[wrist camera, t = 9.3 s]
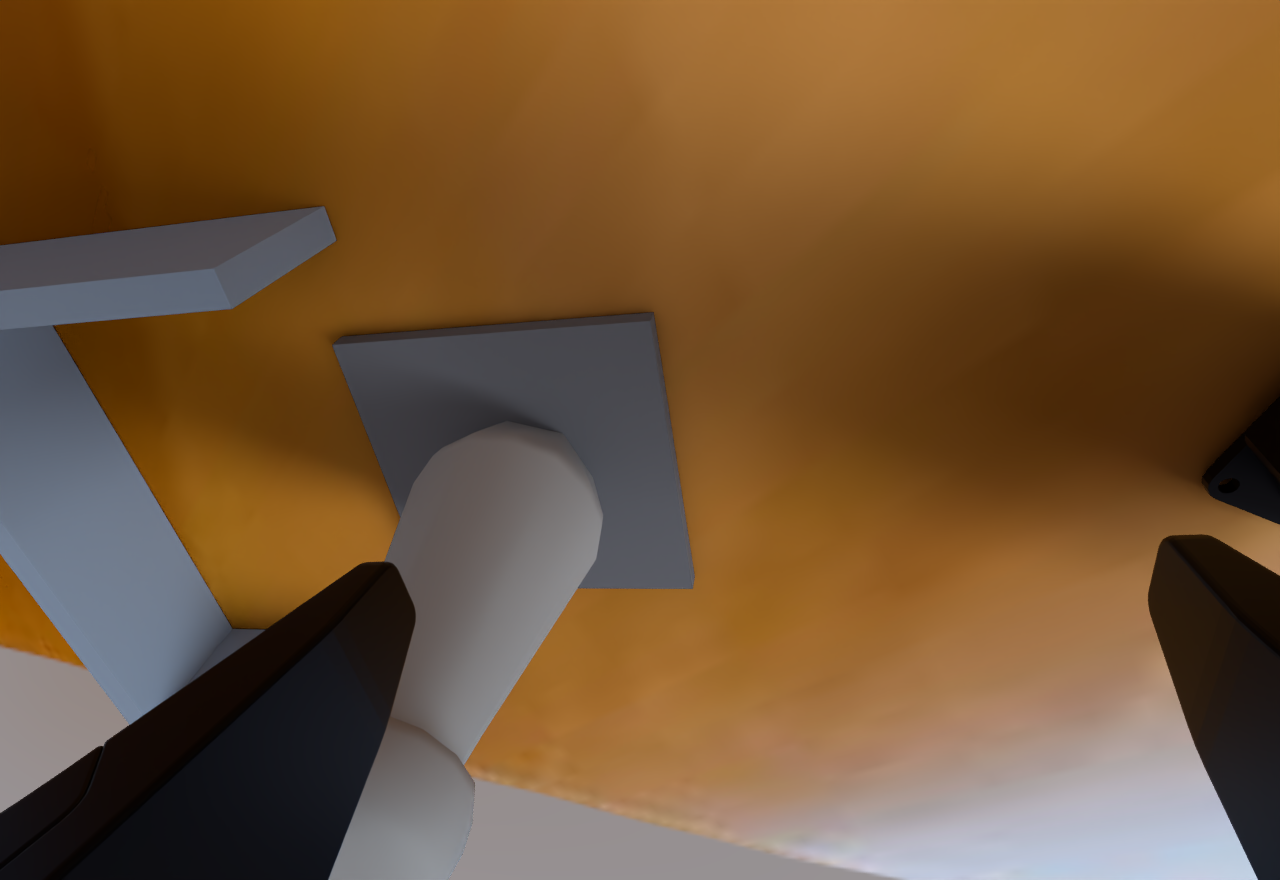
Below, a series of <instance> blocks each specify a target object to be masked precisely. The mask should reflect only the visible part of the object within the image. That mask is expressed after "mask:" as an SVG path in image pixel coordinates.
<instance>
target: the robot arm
mask: <svg viewBox="0 0 1280 880" xmlns="http://www.w3.org/2000/svg"><path fill="white" fill-rule="evenodd" d="M1229 478H1232V479H1231V481H1229V482H1228V483H1226V484H1222V485H1219V484H1220V482H1222V481H1223V480H1225V479H1229ZM1202 484H1203V486H1204V488H1205V489H1206V490H1207V492H1208V493H1209V494H1210V496H1212V497H1213V498H1215V499H1217V500H1219V501H1222V502H1224V503H1227V504H1229V505H1232V506H1234V507H1237V508H1239V509H1242V510H1245V511H1247V512H1250V513H1252V514H1255V515H1257V516H1260V517H1262V518H1265V519H1267V520H1270V521H1272V522H1275V523H1277V524H1280V397H1279V398H1278V399H1277V400H1276V401H1275V402H1274V403H1273V404H1272V405H1271V406H1270V407H1269V408H1268V409H1267V410H1266V411H1265V412H1264V413H1263V414H1262V415H1261V416H1260V417H1259V418H1258V419H1257V420H1256V421H1255V422H1254V423H1253V424H1252V425H1251V426H1250V427H1249V428H1248V429H1247V430H1246V431H1245V432H1244V433H1243V434H1242V435H1241V436H1240V437H1239V438H1238V439H1237V440H1236V441H1235V442H1234V443H1233V444H1232V445H1231V446H1230V447H1229V448H1228V449H1227V450H1226V451H1225V452H1224V453H1223V454H1222V455H1221V456H1220V457H1219V458H1218V459H1217V460H1216V461H1215V462H1214V463H1213V464H1212V465H1211V466H1210V467H1209V468H1208V469H1207V471H1206V472H1205V473H1204V475H1203V476H1202ZM1148 605H1149V611H1150V615H1151V618H1152V621H1153V624H1154V627H1155V630H1156V633H1157V636H1158V639H1159V642H1160V645H1161V648H1162V651H1163V654H1164V657H1165V660H1166V663H1167V666H1168V669H1169V672H1170V675H1171V678H1172V681H1173V683H1174V686H1175V689H1176V692H1177V695H1178V698H1179V701H1180V704H1181V707H1182V710H1183V713H1184V716H1185V719H1186V722H1187V725H1188V728H1189V730H1190V733H1191V736H1192V739H1193V741H1194V744H1195V747H1196V749H1197V751H1198V753H1199V756H1200V758H1201V760H1202V762H1203V765H1204V767H1205V769H1206V771H1207V773H1208V775H1209V778H1210V780H1211V782H1212V784H1213V786H1214V788H1215V790H1216V792H1217V794H1218V797H1219V799H1220V801H1221V803H1222V805H1223V807H1224V809H1225V811H1226V813H1227V815H1228V818H1229V820H1230V822H1231V824H1232V826H1233V828H1234V830H1235V832H1236V834H1237V836H1238V839H1239V841H1240V843H1241V845H1242V847H1243V849H1244V851H1245V853H1246V855H1247V858H1248V860H1249V862H1250V864H1251V866H1252V868H1253V870H1254V872H1255V874H1256V876H1257V879H1258V880H1280V576H1279V575H1277V574H1276V573H1274V572H1272V571H1271V570H1269V569H1267V568H1266V567H1264V566H1262V565H1260V564H1259V563H1257V562H1255V561H1254V560H1252V559H1250V558H1249V557H1247V556H1245V555H1243V554H1242V553H1240V552H1238V551H1237V550H1235V549H1233V548H1232V547H1230V546H1228V545H1226V544H1225V543H1223V542H1221V541H1220V540H1218V539H1216V538H1214V537H1212V536H1209V535H1173V536H1168V537H1166V538H1164V539H1163V540H1162V542H1161V543H1160V546H1159V548H1158V553H1157V557H1156V561H1155V566H1154V570H1153V574H1152V579H1151V583H1150V587H1149V592H1148ZM415 623H416V611H415V606H414V603H413V601H412V599H411V597H410V594H409V592H408V590H407V588H406V585H405V583H404V581H403V579H402V577H401V574H400V572H399V570H398V568H397V567H396V566H395V565H394V564H393V563H391V562H366V563H362V564H360V565H358V566H356V567H355V568H353V569H352V570H351V571H349V572H348V573H346V574H345V575H343V576H342V577H341V578H339V579H338V580H336V581H335V582H333V583H332V584H331V585H329V586H328V587H326V588H325V589H323V590H322V591H321V592H319V593H318V594H316V595H315V596H313V597H312V598H311V599H309V600H308V601H306V602H305V603H303V604H302V605H300V606H299V607H298V608H296V609H295V610H293V611H292V612H290V613H289V614H288V615H286V616H285V617H283V618H282V619H280V620H279V621H278V622H276V623H275V624H273V625H272V626H270V627H269V628H268V629H266V630H265V631H263V632H262V633H260V634H259V635H258V636H256V637H255V638H253V639H252V640H250V641H249V642H247V643H246V644H245V645H243V646H242V647H240V648H239V649H237V650H236V651H235V652H233V653H232V654H230V655H229V656H227V657H226V658H225V659H223V660H222V661H220V662H219V663H217V664H216V665H215V666H213V667H212V668H210V669H209V670H207V671H206V672H205V673H203V674H202V675H200V676H199V677H197V678H196V679H194V680H193V681H192V682H190V683H189V684H187V685H186V686H184V687H183V688H182V689H180V690H179V691H177V692H176V693H174V694H173V695H172V696H170V697H169V698H167V699H166V700H164V701H163V702H162V703H160V704H159V705H157V706H156V707H154V708H153V709H152V710H150V711H149V712H147V713H146V714H144V715H143V716H141V717H140V718H139V719H137V720H136V721H134V722H133V723H131V724H130V725H129V726H127V727H126V728H125V729H123V730H121V731H120V732H119V733H117V734H116V735H114V736H113V737H111V738H110V739H109V740H107V741H106V742H105V744H104V746H99V747H97V748H95V749H94V750H92V751H91V752H90V753H88V754H87V755H86V756H84V757H83V758H81V759H80V760H78V761H77V762H75V763H74V764H73V765H71V766H70V767H68V768H67V769H66V770H64V771H62V772H61V773H60V774H58V775H57V776H55V777H54V778H52V779H51V780H49V781H48V782H47V783H45V784H43V785H42V786H40V787H39V788H37V789H36V790H34V791H33V792H32V793H30V794H29V795H27V796H26V797H24V798H23V799H21V800H20V801H18V802H17V803H15V804H14V805H12V806H11V807H9V808H7V809H6V810H4V811H3V812H1V813H0V880H329V877H330V874H331V872H332V869H333V867H334V864H335V861H336V859H337V856H338V854H339V851H340V849H341V846H342V843H343V841H344V838H345V836H346V833H347V830H348V828H349V825H350V823H351V820H352V818H353V815H354V812H355V810H356V807H357V805H358V802H359V799H360V797H361V794H362V792H363V789H364V787H365V784H366V781H367V779H368V776H369V774H370V771H371V768H372V766H373V763H374V761H375V758H376V756H377V753H378V750H379V748H380V745H381V742H382V739H383V737H384V734H385V731H386V728H387V725H388V721H389V718H390V715H391V712H392V708H393V704H394V701H395V697H396V693H397V690H398V686H399V682H400V679H401V675H402V671H403V668H404V664H405V660H406V657H407V653H408V649H409V646H410V642H411V638H412V635H413V631H414V627H415Z"/></svg>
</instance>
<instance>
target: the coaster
mask: <svg viewBox="0 0 1280 880" xmlns="http://www.w3.org/2000/svg"><path fill="white" fill-rule="evenodd" d="M332 346H333V349H334V351H335V354H336V356H337V359H338V361H339V364H340V366H341V369H342V371H343V374H344V376H345V379H346V382H347V384H348V387H349V389H350V392H351V394H352V397H353V399H354V402H355V404H356V407H357V409H358V412H359V414H360V417H361V419H362V422H363V424H364V427H365V429H366V432H367V435H368V437H369V440H370V442H371V445H372V447H373V450H374V452H375V455H376V457H377V460H378V462H379V465H380V467H381V470H382V472H383V475H384V477H385V480H386V483H387V485H388V488H389V490H390V493H391V495H392V498H393V500H394V503H395V505H396V508H397V510H398V513H399V515H400V518H401V515H402V513H403V510H404V507H405V505H406V502H407V499H408V497H409V494H410V491H411V488H412V486H413V483H414V481H415V480H416V479H417V477H418V476H419V474H420V473H421V472H422V470H423V469H424V467H425V466H426V465H427V463H428V462H429V460H430V459H431V458H432V456H433V455H434V454H435V453H437V452H438V451H439V450H440V449H441V448H443V447H445V446H447V445H449V444H451V443H453V442H455V441H457V440H459V439H462V438H464V437H466V436H468V435H470V434H472V433H474V432H477V431H480V430H482V429H485V428H488V427H491V426H494V425H496V424H499V423H502V422H505V421H510V422H514V423H518V424H523V425H527V426H532V427H536V428H541V429H545V430H549V431H554V432H558V433H563V434H564V436H565V437H566V439H567V440H568V442H569V443H570V445H571V446H572V448H573V449H574V450H575V452H576V453H577V455H578V456H579V458H580V459H581V461H582V462H583V464H584V465H585V467H586V468H587V470H588V471H589V473H590V474H591V475H592V477H593V480H594V483H595V487H596V491H597V494H598V498H599V502H600V505H601V509H602V513H603V520H602V528H601V534H600V540H599V546H598V551H597V557H596V560H595V562H594V563H593V565H592V566H591V568H590V570H589V571H588V573H587V574H586V576H585V577H584V579H583V580H582V582H581V583H580V585H579V587H578V588H634V589H693V584H694V578H695V575H694V569H693V562H692V556H691V550H690V543H689V537H688V530H687V524H686V517H685V511H684V505H683V498H682V492H681V485H680V479H679V472H678V466H677V460H676V453H675V447H674V440H673V434H672V427H671V421H670V414H669V408H668V402H667V395H666V389H665V382H664V376H663V369H662V363H661V357H660V350H659V344H658V337H657V331H656V324H655V318H654V312H651V313H638V314H626V315H613V316H600V317H587V318H574V319H561V320H549V321H536V322H523V323H510V324H497V325H484V326H472V327H459V328H446V329H433V330H420V331H407V332H394V333H382V334H369V335H356V336H343V337H341V338H339V339H338V340H337V341H336V342H335V343H334V344H333V345H332Z"/></svg>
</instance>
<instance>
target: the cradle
mask: <svg viewBox="0 0 1280 880" xmlns="http://www.w3.org/2000/svg"><path fill="white" fill-rule="evenodd" d="M335 241H337V240H336V237H335V235H334V232H333V229H332V226H331V224H330V221H329V218H328V216H327V213H326V210H325V207H324V206H321V207H313V208H305V209H296V210H288V211H280V212H272V213H264V214H255V215H247V216H239V217H231V218H222V219H214V220H206V221H198V222H190V223H181V224H173V225H165V226H157V227H148V228H140V229H132V230H124V231H116V232H107V233H99V234H91V235H83V236H74V237H66V238H58V239H50V240H42V241H33V242H25V243H17V244H9V245H0V554H1V555H2V557H3V558H4V559H5V561H6V562H7V563H8V565H9V566H10V567H11V569H12V570H13V571H14V573H15V574H16V575H17V577H18V578H19V579H20V580H21V582H22V583H23V584H24V586H25V587H26V588H27V590H28V591H29V592H30V594H31V595H32V596H33V598H34V599H35V600H36V602H37V603H38V604H39V606H40V607H41V608H42V610H43V611H44V612H45V614H46V615H47V616H48V617H49V619H50V620H51V621H52V623H53V624H54V625H55V627H56V628H57V629H58V631H59V632H60V633H61V635H62V636H63V637H64V639H65V640H66V641H67V643H68V644H69V645H70V647H71V648H72V649H73V651H74V652H75V653H76V654H77V656H78V657H79V658H80V660H81V661H82V662H83V664H84V665H85V666H86V668H87V669H88V670H89V672H90V673H91V674H92V675H93V677H94V678H95V679H96V681H97V682H98V684H99V685H100V686H101V687H102V689H103V690H104V691H105V693H106V694H107V695H108V697H109V698H110V699H111V701H112V702H113V703H114V705H115V706H116V707H117V709H118V710H119V711H120V713H121V714H122V715H123V716H124V718H125V719H126V720H127V722H128V723H129V724H131V723H133V722H134V721H136V720H137V719H139V718H140V717H141V716H143V715H144V714H146V713H147V712H149V711H150V710H152V709H153V708H154V707H156V706H157V705H159V704H160V703H162V702H163V701H164V700H166V699H167V698H169V697H170V696H172V695H173V694H174V693H176V692H177V691H179V690H180V689H182V688H183V687H184V686H186V685H187V684H189V683H190V682H192V681H193V680H194V679H196V678H197V677H199V676H200V675H202V674H203V673H205V672H206V671H207V670H209V669H210V668H212V667H213V666H215V665H216V664H217V663H219V662H220V661H222V660H223V659H225V658H226V657H227V656H229V655H230V654H232V653H233V652H235V651H236V650H237V649H239V648H240V647H242V646H243V645H245V644H246V643H247V642H249V641H250V640H252V639H253V638H255V637H256V636H258V635H259V634H260V633H262V632H263V631H265V630H260V629H232V627H231V625H230V624H229V622H228V620H227V619H226V617H225V615H224V614H223V612H222V610H221V609H220V607H219V605H218V604H217V602H216V600H215V599H214V597H213V595H212V593H211V592H210V590H209V588H208V587H207V585H206V583H205V582H204V580H203V578H202V577H201V575H200V573H199V572H198V570H197V568H196V567H195V565H194V563H193V561H192V560H191V558H190V556H189V555H188V553H187V551H186V550H185V548H184V546H183V545H182V543H181V541H180V540H179V538H178V536H177V534H176V533H175V531H174V529H173V528H172V526H171V524H170V523H169V521H168V519H167V518H166V516H165V514H164V513H163V511H162V509H161V508H160V506H159V504H158V502H157V501H156V499H155V497H154V496H153V494H152V492H151V491H150V489H149V487H148V486H147V484H146V482H145V481H144V479H143V477H142V476H141V474H140V472H139V470H138V469H137V467H136V465H135V464H134V462H133V460H132V459H131V457H130V455H129V454H128V452H127V450H126V449H125V447H124V445H123V444H122V442H121V440H120V438H119V437H118V435H117V433H116V432H115V430H114V428H113V427H112V425H111V423H110V422H109V420H108V418H107V417H106V415H105V413H104V411H103V410H102V408H101V406H100V405H99V403H98V401H97V400H96V398H95V396H94V395H93V393H92V391H91V390H90V388H89V386H88V385H87V383H86V381H85V379H84V378H83V376H82V374H81V373H80V371H79V369H78V368H77V366H76V364H75V363H74V361H73V359H72V358H71V356H70V354H69V353H68V351H67V349H66V347H65V346H64V344H63V342H62V341H61V339H60V337H59V336H58V334H57V332H56V331H55V329H54V327H53V326H52V325H59V324H70V323H81V322H92V321H103V320H114V319H126V318H137V317H148V316H159V315H170V314H181V313H192V312H203V311H214V310H225V309H233V308H234V307H236V306H237V305H239V304H240V303H242V302H243V301H245V300H247V299H248V298H250V297H251V296H253V295H254V294H256V293H257V292H259V291H260V290H262V289H263V288H265V287H266V286H268V285H269V284H271V283H273V282H274V281H276V280H277V279H279V278H280V277H282V276H283V275H285V274H286V273H288V272H289V271H291V270H292V269H294V268H295V267H297V266H298V265H300V264H302V263H303V262H305V261H306V260H308V259H309V258H311V257H312V256H314V255H315V254H317V253H318V252H320V251H321V250H323V249H324V248H326V247H328V246H329V245H331V244H332V243H334V242H335Z"/></svg>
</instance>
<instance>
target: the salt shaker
mask: <svg viewBox="0 0 1280 880" xmlns="http://www.w3.org/2000/svg"><path fill="white" fill-rule="evenodd" d="M602 520H603V513H602V509H601V505H600V502H599V498H598V494H597V491H596V487H595V483H594V480H593V477H592V475H591V474H590V473H589V471H588V470H587V468H586V467H585V465H584V464H583V462H582V461H581V459H580V458H579V456H578V455H577V453H576V452H575V450H574V449H573V448H572V446H571V445H570V443H569V442H568V440H567V439H566V437H565V436H564V434H563V433H558V432H554V431H549V430H545V429H541V428H536V427H532V426H527V425H523V424H518V423H514V422H510V421H505V422H502V423H499V424H496V425H494V426H491V427H488V428H485V429H482V430H480V431H477V432H474V433H472V434H470V435H468V436H466V437H464V438H462V439H459V440H457V441H455V442H453V443H451V444H449V445H447V446H445V447H443V448H441V449H440V450H439V451H438V452H437V453H435V454H434V455H433V456H432V458H431V459H430V460H429V462H428V463H427V465H426V466H425V467H424V469H423V470H422V472H421V473H420V474H419V476H418V477H417V479H416V480H415V481H414V483H413V486H412V488H411V491H410V494H409V497H408V499H407V502H406V505H405V507H404V510H403V513H402V515H401V518H400V521H399V524H398V526H397V529H396V532H395V534H394V537H393V540H392V542H391V545H390V548H389V550H388V553H387V556H386V559H385V561H384V562H391V563H393V564H394V565H395V566H396V567H397V568H398V570H399V572H400V574H401V577H402V579H403V581H404V583H405V585H406V588H407V590H408V592H409V594H410V597H411V599H412V601H413V603H414V606H415V611H416V623H415V627H414V631H413V635H412V638H411V642H410V646H409V649H408V653H407V657H406V660H405V664H404V668H403V671H402V675H401V679H400V682H399V686H398V690H397V693H396V697H395V701H394V704H393V708H392V712H391V715H390V718H389V721H388V725H387V728H386V731H385V734H384V737H383V739H382V742H381V745H380V748H379V750H378V753H377V756H376V758H375V761H374V763H373V766H372V768H371V771H370V774H369V776H368V779H367V781H366V784H365V787H364V789H363V792H362V794H361V797H360V799H359V802H358V805H357V807H356V810H355V812H354V815H353V818H352V820H351V823H350V825H349V828H348V830H347V833H346V836H345V838H344V841H343V843H342V846H341V849H340V851H339V854H338V856H337V859H336V861H335V864H334V867H333V869H332V872H331V874H330V877H329V880H448V879H449V877H450V876H451V874H452V872H453V870H454V869H455V867H456V865H457V863H458V862H459V860H460V858H461V856H462V855H463V851H464V848H465V845H466V842H467V839H468V836H469V832H470V829H471V826H472V821H473V807H474V792H475V782H474V781H473V779H472V778H471V776H470V774H469V773H468V771H467V770H466V768H465V767H464V764H465V763H466V761H467V759H468V758H469V756H470V754H471V753H472V751H473V749H474V748H475V746H476V744H477V743H478V741H479V740H480V738H481V736H482V735H483V733H484V732H485V730H486V728H487V727H488V725H489V724H490V722H491V721H492V719H493V718H494V716H495V715H496V713H497V711H498V710H499V708H500V707H501V705H502V704H503V702H504V701H505V699H506V698H507V696H508V695H509V693H510V691H511V690H512V688H513V687H514V685H515V684H516V682H517V681H518V679H519V678H520V676H521V674H522V673H523V671H524V670H525V668H526V667H527V665H528V664H529V662H530V661H531V659H532V657H533V656H534V654H535V653H536V651H537V650H538V648H539V647H540V645H541V644H542V642H543V641H544V639H545V637H546V636H547V634H548V633H549V631H550V630H551V628H552V627H553V625H554V624H555V622H556V620H557V619H558V617H559V616H560V614H561V613H562V611H563V610H564V608H565V607H566V605H567V603H568V602H569V600H570V599H571V597H572V596H573V594H574V593H575V591H576V590H577V588H578V587H579V585H580V583H581V582H582V580H583V579H584V577H585V576H586V574H587V573H588V571H589V570H590V568H591V566H592V565H593V563H594V562H595V560H596V557H597V551H598V546H599V540H600V534H601V528H602Z"/></svg>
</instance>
